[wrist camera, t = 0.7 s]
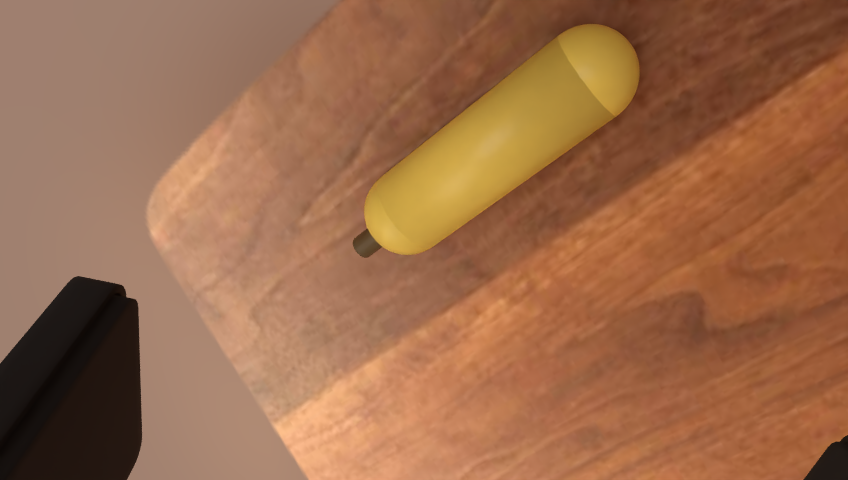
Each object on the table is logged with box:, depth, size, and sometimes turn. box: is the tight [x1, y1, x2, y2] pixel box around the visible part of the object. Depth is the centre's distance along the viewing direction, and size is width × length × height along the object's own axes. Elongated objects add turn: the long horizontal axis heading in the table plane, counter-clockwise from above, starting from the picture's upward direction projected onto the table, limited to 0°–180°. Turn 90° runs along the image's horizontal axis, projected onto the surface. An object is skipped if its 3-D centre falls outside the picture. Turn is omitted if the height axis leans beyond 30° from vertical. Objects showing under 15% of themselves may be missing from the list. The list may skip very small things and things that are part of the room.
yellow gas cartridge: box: [353, 24, 640, 258], centre depth 28 cm, size 14×4×4 cm, turn 132°
